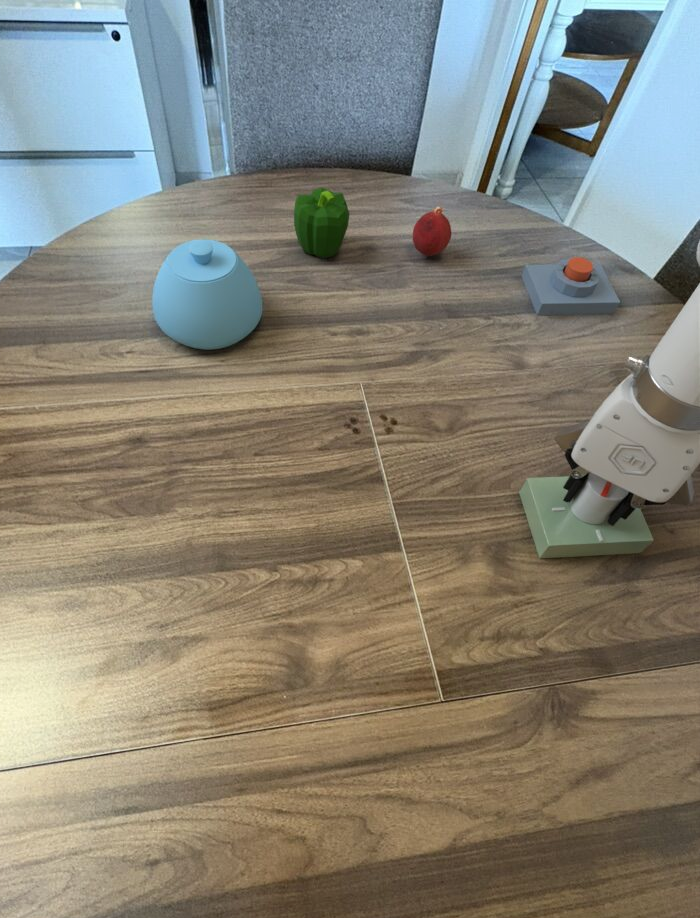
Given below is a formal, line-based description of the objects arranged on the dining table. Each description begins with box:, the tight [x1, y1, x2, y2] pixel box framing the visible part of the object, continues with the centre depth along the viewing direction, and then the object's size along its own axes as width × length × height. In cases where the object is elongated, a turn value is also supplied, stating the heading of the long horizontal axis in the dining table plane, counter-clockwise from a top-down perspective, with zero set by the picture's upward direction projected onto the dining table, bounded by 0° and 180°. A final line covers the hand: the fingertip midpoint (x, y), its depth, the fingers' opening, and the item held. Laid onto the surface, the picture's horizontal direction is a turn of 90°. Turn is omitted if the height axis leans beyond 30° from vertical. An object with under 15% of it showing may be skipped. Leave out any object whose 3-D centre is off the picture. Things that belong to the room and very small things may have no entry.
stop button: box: [564, 256, 594, 282], centre depth 90 cm, size 4×4×2 cm
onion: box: [412, 206, 453, 257], centre depth 94 cm, size 6×6×8 cm
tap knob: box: [570, 472, 629, 524], centre depth 67 cm, size 4×4×5 cm
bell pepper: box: [293, 187, 350, 259], centre depth 93 cm, size 8×8×10 cm
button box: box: [521, 258, 621, 316], centre depth 92 cm, size 12×9×4 cm
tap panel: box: [518, 475, 655, 559], centre depth 70 cm, size 12×9×3 cm
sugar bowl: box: [151, 238, 264, 351], centre depth 82 cm, size 15×15×12 cm
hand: (592, 503), depth 68 cm, fingers closed on tap knob, 4 cm apart
